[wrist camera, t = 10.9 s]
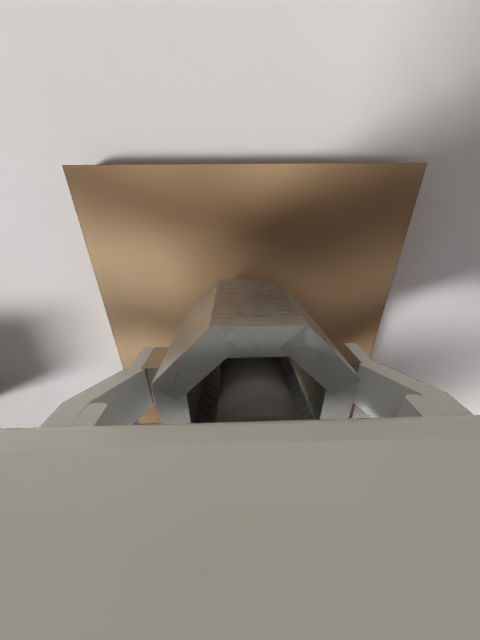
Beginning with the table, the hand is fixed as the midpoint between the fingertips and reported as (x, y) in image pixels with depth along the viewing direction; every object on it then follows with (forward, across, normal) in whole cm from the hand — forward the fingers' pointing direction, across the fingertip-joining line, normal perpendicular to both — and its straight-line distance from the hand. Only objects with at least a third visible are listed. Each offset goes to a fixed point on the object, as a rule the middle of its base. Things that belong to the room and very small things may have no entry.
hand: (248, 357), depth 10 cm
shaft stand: (+5, 0, 0) cm, 5 cm away
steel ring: (+2, 0, 0) cm, 2 cm away
